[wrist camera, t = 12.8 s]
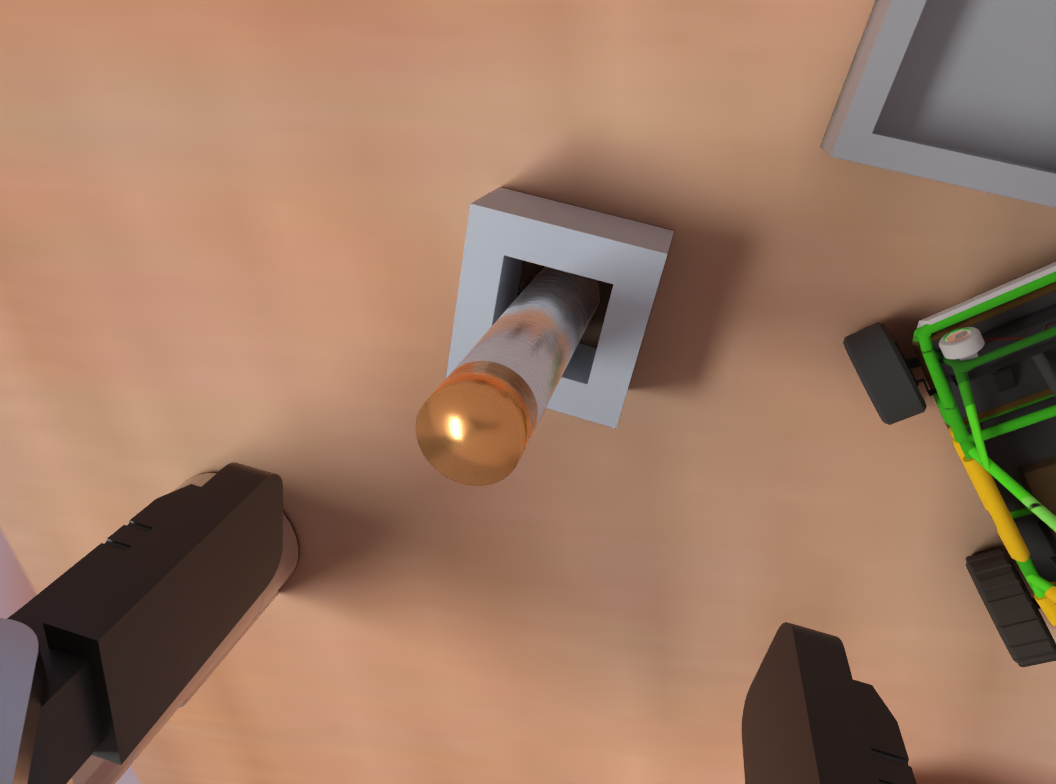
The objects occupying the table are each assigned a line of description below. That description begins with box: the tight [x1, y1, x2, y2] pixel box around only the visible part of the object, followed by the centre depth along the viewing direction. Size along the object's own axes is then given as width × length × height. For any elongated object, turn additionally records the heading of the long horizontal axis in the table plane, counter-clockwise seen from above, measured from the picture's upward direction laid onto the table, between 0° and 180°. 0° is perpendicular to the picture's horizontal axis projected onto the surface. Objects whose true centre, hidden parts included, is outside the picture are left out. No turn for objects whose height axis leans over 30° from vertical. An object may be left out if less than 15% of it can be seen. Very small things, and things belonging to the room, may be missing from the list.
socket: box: [446, 187, 674, 429], centre depth 30 cm, size 8×8×4 cm
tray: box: [820, 0, 1056, 208], centre depth 22 cm, size 10×9×3 cm
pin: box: [416, 266, 600, 486], centre depth 25 cm, size 3×3×14 cm
